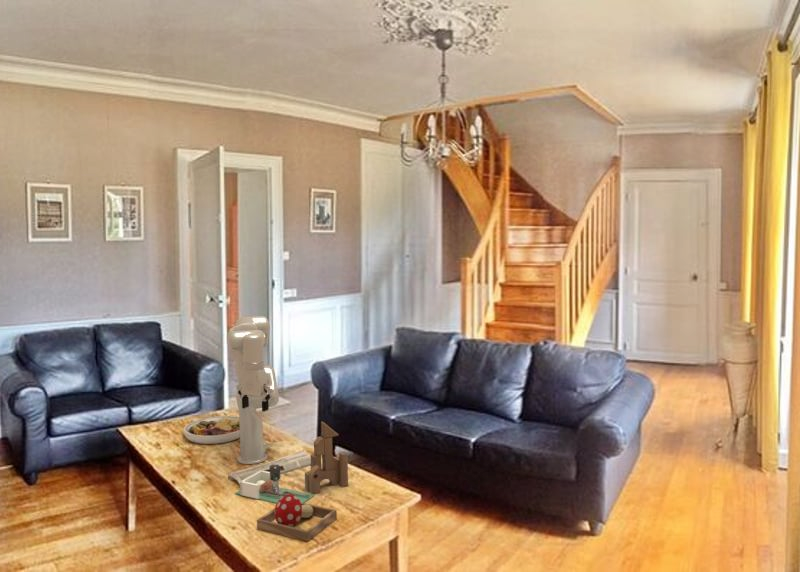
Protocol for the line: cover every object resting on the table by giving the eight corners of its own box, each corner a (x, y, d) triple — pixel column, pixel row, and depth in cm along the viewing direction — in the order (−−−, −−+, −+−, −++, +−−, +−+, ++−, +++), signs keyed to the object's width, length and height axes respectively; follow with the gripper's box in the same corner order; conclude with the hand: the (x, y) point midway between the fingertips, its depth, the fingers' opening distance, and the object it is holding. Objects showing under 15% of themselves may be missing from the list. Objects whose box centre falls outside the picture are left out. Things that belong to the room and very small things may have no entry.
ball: (266, 477, 236) (270, 487, 235) (258, 479, 238) (262, 490, 237) (259, 481, 232) (263, 491, 232) (251, 483, 234) (255, 494, 234)
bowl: (185, 429, 310) (184, 414, 309) (247, 422, 319) (246, 407, 318) (183, 450, 281) (182, 432, 281) (252, 442, 290) (251, 425, 290)
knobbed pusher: (270, 488, 236) (269, 462, 235) (288, 492, 233) (287, 465, 232) (260, 494, 231) (259, 467, 230) (278, 498, 228) (277, 470, 227)
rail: (270, 488, 237) (270, 486, 236) (310, 497, 229) (310, 495, 228) (260, 495, 231) (260, 493, 231) (301, 504, 223) (301, 501, 223)
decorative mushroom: (313, 487, 218) (281, 486, 206) (328, 512, 211) (296, 513, 200) (294, 509, 220) (262, 509, 209) (309, 535, 213) (276, 537, 202)
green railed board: (254, 482, 243) (254, 481, 243) (314, 495, 231) (314, 494, 231) (235, 494, 233) (234, 492, 233) (297, 508, 221) (297, 507, 221)
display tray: (288, 507, 221) (288, 499, 221) (336, 518, 213) (336, 510, 212) (257, 528, 206) (256, 520, 206) (307, 541, 197) (307, 532, 197)
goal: (261, 482, 242) (260, 470, 242) (278, 486, 239) (277, 473, 238) (240, 494, 232) (239, 481, 231) (257, 498, 228) (257, 485, 228)
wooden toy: (311, 495, 232) (309, 429, 229) (304, 488, 237) (302, 424, 235) (349, 485, 239) (348, 421, 237) (342, 479, 245) (340, 417, 243)
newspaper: (239, 488, 240) (239, 479, 239) (225, 478, 249) (225, 470, 249) (317, 464, 263) (317, 456, 262) (301, 456, 272) (301, 448, 272)
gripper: (229, 365, 243) (231, 409, 245) (265, 369, 235) (267, 414, 237) (242, 361, 249) (244, 403, 251) (277, 365, 242) (279, 409, 244)
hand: (255, 409), depth 244 cm, fingers open, 9 cm apart
